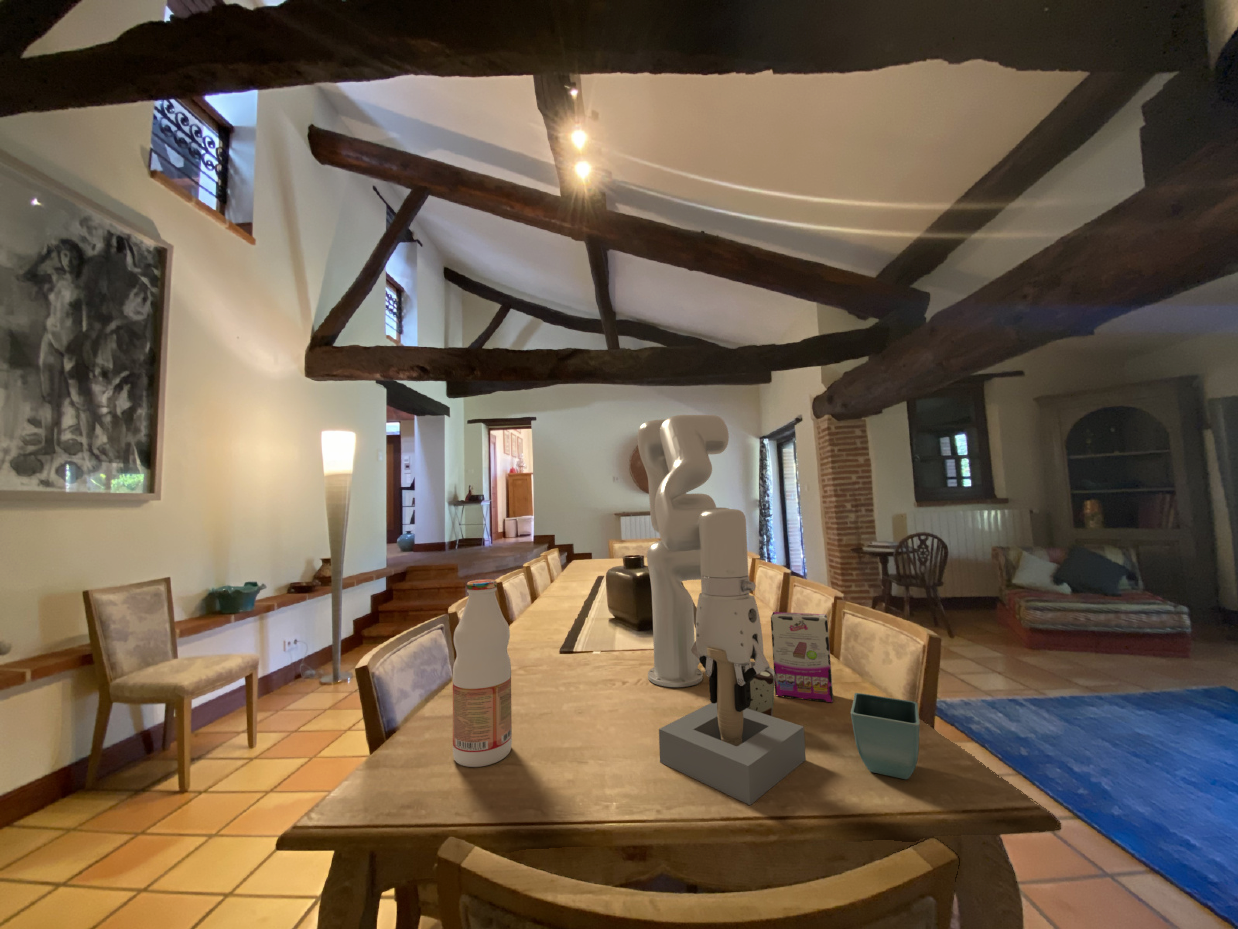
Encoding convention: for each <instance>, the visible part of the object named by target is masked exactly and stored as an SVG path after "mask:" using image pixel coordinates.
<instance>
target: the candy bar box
mask: <svg viewBox="0 0 1238 929" xmlns="http://www.w3.org/2000/svg"><path fill="white" fill-rule="evenodd" d="M770 626H771V629H770V630H771V644H772V662H773V670H774V672H775V674H776V677H777V681H778V686H777V684H776V681H775V683H774V696H776V695H778V696H784V697H783V698H786V697H791V698H790V699H795V698H803V699H802V700H804V699H811V700H810V701H814V700H818V701H817V702H824V701H826V702H825V703H833V702H834V696H833V694H834V693H833V676H832V664H831V662H832V661H831V650H830V636H829V635H830V634H829V623H828V615H827V614H825V613H809V612H807V613H805V612H787V611H785V612H784V611H782V612H781V611H773V612H772V614H771V616H770Z"/></svg>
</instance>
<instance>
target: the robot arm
mask: <svg viewBox="0 0 1238 929" xmlns="http://www.w3.org/2000/svg"><path fill="white" fill-rule="evenodd" d="M729 438H730V436H729V430H728V426H727V424H726V422H725V421H724V419H722V417H721V416H719V415H717V414H678V415H673V416H671V417H667V418H666V419H652V420H648V421H646V422H643V423H642V424H641V425H640V426H639V428H638V431H637V446H638V447H637V449H638V453H639V457H640V460H641V463H642V464H643V466H644V469H645V472H646V476H647V481H648V483H647V484H648V499H649V500H648V501H649V513H650V515H649V516H650V523H651V526H652V528H653V530H654V531H655V532H656V533H658V534H659V537H660V540H657V541H655V542H654V543H652V544H650V546H648V549H647V553H646V563H647V568H648V574H649V579H650V581H649V582H650V587H651V607H652V631H653V632H652V635H653V637H652V638H653V660H654V662H653V666H654V667H651V669H649V670H648V671H647V679H648V681H650V682H651V683H652V684H654V685H657V686H661V687H665V688H686V687H692V686H695V685H698V684H700V683H702V680H703V679H704V675H703V672H702V670H701V669H700V668H699V664H701V665H702V667H703V668H704V670H705V671H704V672H705V675H706V676H707V677H708V683H709V684H708V685H709V696H710V697H709V699H710V703H714V704H715V703H717V662H716V661H715V660H714V659H712V658H710V657H709V656H708V655H707V647H709V648H713V649H717V650H722V651H726V658H727V659H728V661H729V662H730V663H734V667H735V672H736V678H737V682H738V683H737V684H735V685H734V693H735V709H736V711H738V712H741V711H743V710H745V709H747V708H748V707H750V703H751V689H750V682H751V681H752V680H753V679H754V678H755V677H756V676H757V675H758V674H759V673H761V672H763V671H765V670H767V669H769V667H771V666H770V663H769V661H768V660H767V658H766V656H765V654H764V642H763V641H764V639H763V630H762V624H761V618H760V613H759V609H758V608H759V607H758V605H757V600H756V598H755V596H754V595H750V593H751V592H755V590H756V587H757V585H756V582H753V581H751V580H750V576H749V562H748V561H749V559H748V556H749V555H748V540H747V539H748V538H747V519H746V515H745V512H743V511H742V510H740V509H736V508H728V507H717V504H716V502H715V500H714V499H713V498H712V496H710V495H709V494H706V493H689V492H692V491H693V490H695V489H697V488H700V487H701V486H702V485H704V484H705V483H706V482H707V481H709V479H710V477H711V475H712V473H713V465H712V462H711V460H710V457H709V455H719V454H722V453H723V452H724V451H726V449H727V447H728V445H729ZM699 580H700V587H701V588H700V589H701V592H700V593H699V594H698V599H697V605H696V613H694V601H693V597H692V595H691V593H690V592H689V591H688V590H687V589H686V587H684V586H683V584H682V582H685V581H699ZM694 614H696V615H694ZM751 660H754V661H753V662H755V666H753V667H751V662H750V661H751Z"/></svg>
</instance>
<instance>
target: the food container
mask: <svg viewBox="0 0 1238 929" xmlns="http://www.w3.org/2000/svg"><path fill="white" fill-rule="evenodd" d="M750 662H751V667H753V666H755V661H751V660H750ZM775 681H776V684H777V686H778V681H777V677H776V674H775V672H774V668H772V667H771V666H770V667H769V669H767V670H765V671H763V672H761V673H759V674H758V675H757V676H756V677H755V678H754V679H753V680H752V681H751V682H750V689H751V703H750V707H748V709H751V710H754V711H757V712H760V713H763V714H766V715H769V716H772V717H774V713H773V712H774V699H775V698H774V696H775Z"/></svg>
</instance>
